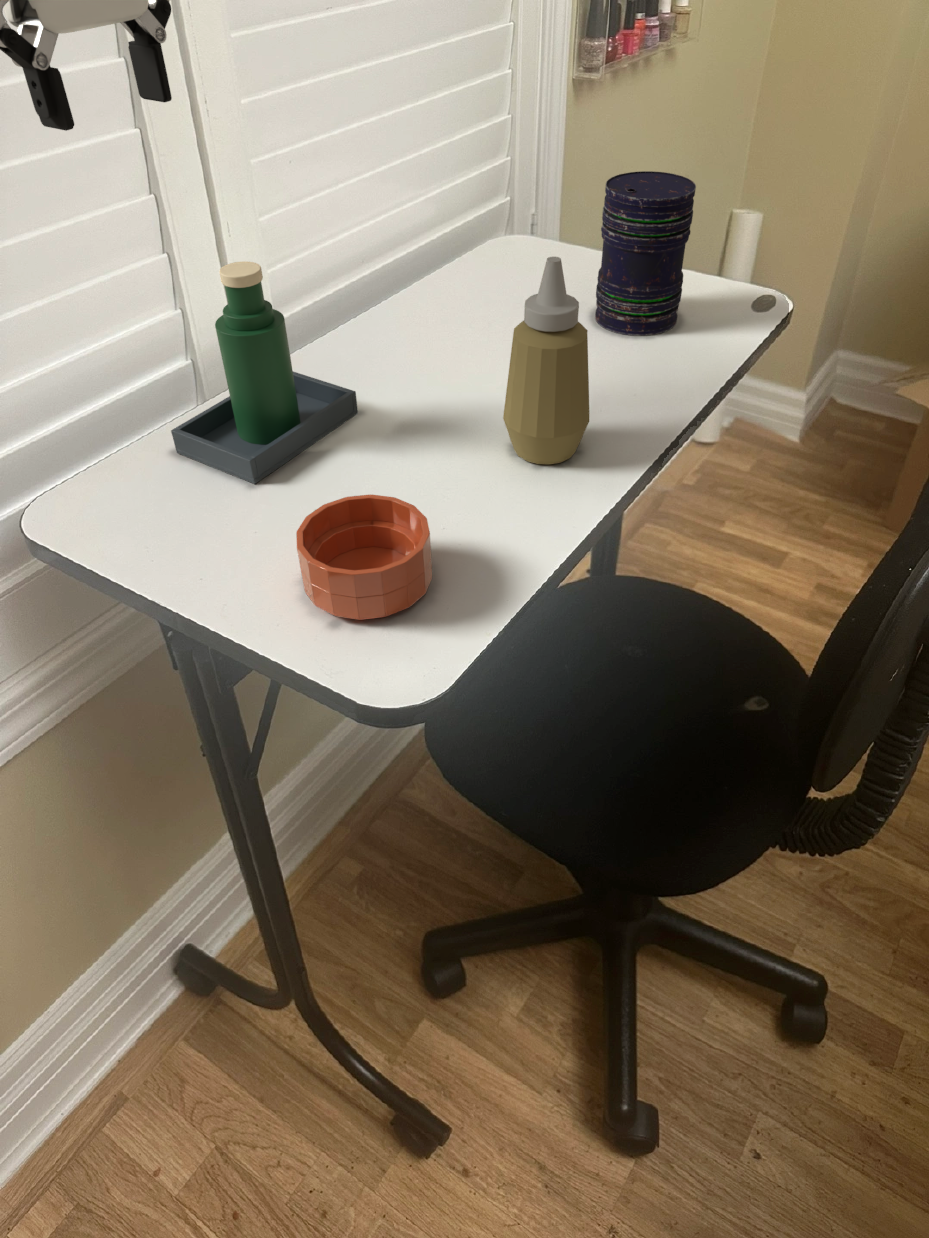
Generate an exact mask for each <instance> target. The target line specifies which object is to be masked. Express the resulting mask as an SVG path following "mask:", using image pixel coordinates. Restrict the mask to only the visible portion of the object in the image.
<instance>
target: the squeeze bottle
mask: <svg viewBox="0 0 929 1238" xmlns="http://www.w3.org/2000/svg"><path fill="white" fill-rule="evenodd" d="M579 309H580V302H579V301H578V299H576V297H574V296H573V295H570V294H568V293H567V288H566V282H565V275H564V270H563V262H562V257H559V256H549V257H547V258H546V262H545V264H544V269H543V273H542V277H541V281H540V284H539V289H538V292H537V293H536V294H532V295H531V296H529V297H528V298H527V299H525V301H524V311H523V320H522V321H521V322H519V324H517V325H516V326H515V327H514V328H513V333H512V342H511V350H510V357H509V367H508V374H507V383H506V391H505V399H504V400H505V401H504V407H503V416H502V419H503V422H504V426H505V427H506V431H507V434H508V436H509V440H510V442H511V445H512V448H513V451H514V452H515V454H516V455H517V456H518V457H519V458H521V459H522V460H524V461H526V462H528V463H532V464H537V465H556V464H560V463H563V462H565V461H567V460H569V459H571V458H572V457H573V455H574V454H575V453H576V451H577V449H578V447H579V445H580V442H581V440H582V439H583V437H584V434H585V433H586V430H587V428H588V426H589V424H590V385H589V384H590V382H589V381H590V380H589V378H590V376H589V346H588V345H589V342H588V337H589V336H588V329H587V328H586V327H585V326H584V325H583V324H582V323H581V322H580V321H579Z"/></svg>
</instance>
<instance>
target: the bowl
mask: <svg viewBox="0 0 929 1238" xmlns="http://www.w3.org/2000/svg"><path fill="white" fill-rule="evenodd" d="M431 544H432V543H431V531H430V527H429V522H428V518H427V517H426V516H425V515H424V513H422V512H421V511H420V510H419V509H418V507H417V506H415V505H414V504H411V503H410V502H407V501H404V500H402V499H400V498H397V497H395V496H389V495H379V494H362V495H351V496H344V497H343V498H342V497H341V498H339V499H336V500H332V501H330V502H327V503H324V504H322V505H321V506H319V507H318V508H316V509H315V510H314V511H312V512H311V513H309V514H308V515H306V516H305V517H304V519H303V520H302V522H301V524H300V525H299V527H298V528H297V530H296V550H297V551H296V552H297V554H298V555H297V556H298V562H299V567H300V572H301V578H302V583H303V590H304V593H305V594H306V595H307V597H308V598H309V599H310V601H311V602H312V603H313V606H315V607H317V608H318V609H320V610H323V611H325V612H327V613H328V614H330V615H332V616H335V617H338V618H345V619H351V620H358V621H359V620H370V619H379V618H386V617H389V616H392V615H394V614H396V613H399V612H401V611H404V610H407V609H409V608H411V607H412V606H413V605H414V604H416V602H417V601H419V600H420V599H421V598H422V597H423V596H425V595H426V593H427V592H428V589H429V586H430V585H431V582H432V579H433V562H432V546H431Z"/></svg>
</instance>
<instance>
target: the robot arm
mask: <svg viewBox="0 0 929 1238" xmlns="http://www.w3.org/2000/svg"><path fill="white" fill-rule="evenodd" d="M3 12H4V14H3ZM171 13H172V5H171V2H170V0H0V51H2V53H4V54H5V55H6V56H8V58H10V59H11V61H12V63H13V64H14V65H15V66H16V67H21V69H22V71H23V74H24V77H25V81H26V84H27V88H28V90H29V94H30V95H29V96H30V97H31V102H32V105H33V107H34V111H35V113H36V114H37V116H38V117H39V121H40V123H41V125H42V126H43V127H46V128H49V129H50V128H51V129H55V130H60V131H65V132H67V131H70V130H73V129H74V127H75V120H74V117H73V112H72V110H71V107H70V102H69V98H68V94H67V92H66V88H65V84H64V80H63V77H62V73H61V72H60V70H59V68H58V67H53V66H52V67H51V62H52V60H53V59H52V58H53V56H54V51H55V48H56V45H57V41H58V38H59V34H69V33H75V32H80V31H86V30H90V29H96V28H100V27H105V26H110V25H115V24H121V26H122V27H123V28H124V29H125V30H126V31H127V32H128V34H130V36H131V37H132V39H133V40H130V41H128V52H129V56H130V61H131V65H132V69H133V73H134V78H135V83H136V87H137V91H138V95H139V97H140V98H141V99H143V100H147V101H153V102H159V103H168V102H172V98H173V97H172V92H171V87H170V82H169V76H168V72H167V67H166V62H165V58H164V52H163V48H162V44H164V43H166V40H167V31H166V28H167V24H168V22H169V19H170V17H171V15H172V14H171ZM4 15H5V16H4ZM5 17H6V18H5ZM8 23H10V25H12V26H13V27H15V28H17V30H15V29H13V28H11V26H10V25H9V24H8Z"/></svg>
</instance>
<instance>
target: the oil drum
mask: <svg viewBox="0 0 929 1238" xmlns="http://www.w3.org/2000/svg"><path fill="white" fill-rule="evenodd" d="M696 190H697V185H696V183H695V182H694V181H693V180H692V179H690V178H688V177H685V176H683V175H680V174H676V173H672V172H671V173H670V172H664V171H653V170H652V171H651V170H649V171H648V170H645V171H644V170H642V171H630V172H624V173H619V174H616V175H613V176H611V177H610V178H608V179H607V180H606V182H605V187H604V192H605V193H604V194H605V196H604V201H603V203H604V204H603V207H602V212H601V213H602V216H601V221H602V225H601V228H600V231H601V238H602V251H601V252H602V253H601V262H600V268H599V269H598V273H597V284H596V290H595V291H596V292H595V298H596V301H595V302H596V303H595V306H596V309H595V313H594V319H595V322H596V323H597V324H598V325H599V326H600V327H602V328H603V329H605V330H607V331H610V332H611V333H616V334H619V335H624V336H634V337H642V336H643V337H645V336H646V337H647V336H655V335H661V334H663V333H666V332H668V331H670V330H671V329H673V328H674V327H675V326H676V324H677V322H678V321H677V320H678V310H679V308H680V303H681V300H682V293H683V283H684V272H683V264H684V258H685V257H684V256H685V249H686V244H687V243H688V241H689V239H690V236H691V227H692V223H693V216H694V204H695V203H694V202H695V199H694V197H695V196H696Z"/></svg>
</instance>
